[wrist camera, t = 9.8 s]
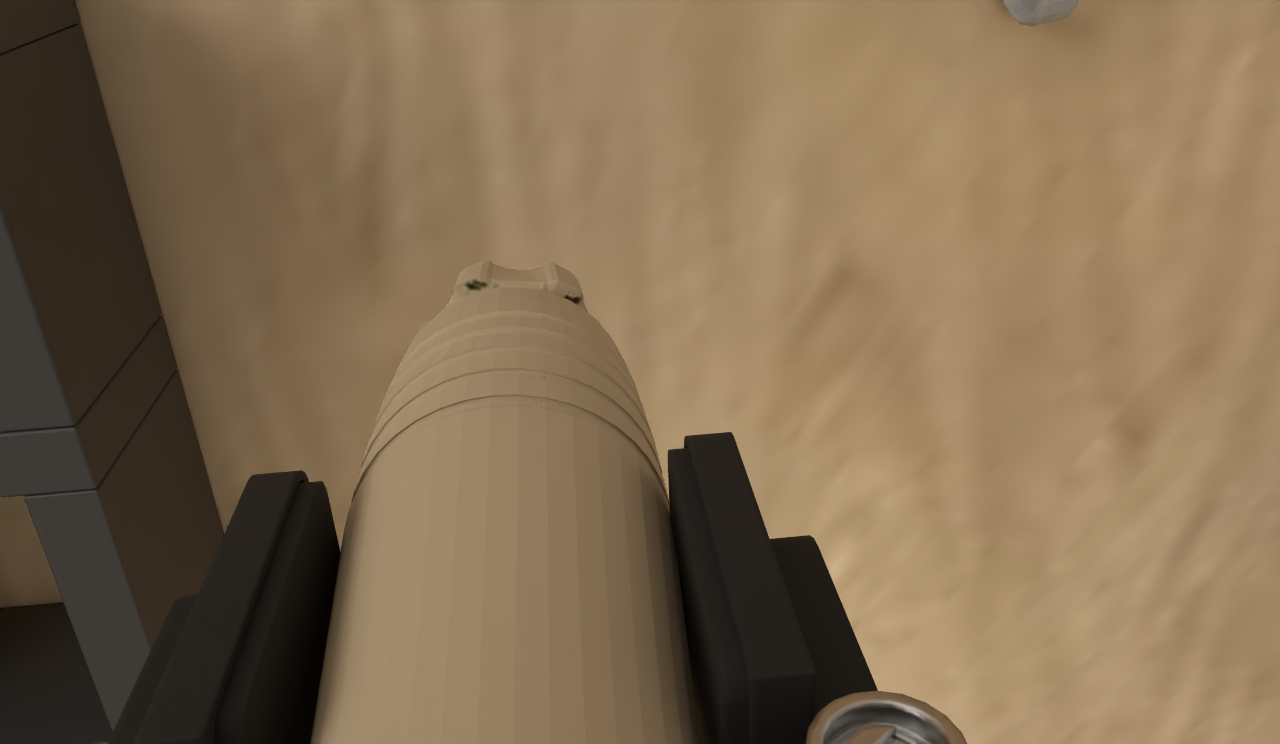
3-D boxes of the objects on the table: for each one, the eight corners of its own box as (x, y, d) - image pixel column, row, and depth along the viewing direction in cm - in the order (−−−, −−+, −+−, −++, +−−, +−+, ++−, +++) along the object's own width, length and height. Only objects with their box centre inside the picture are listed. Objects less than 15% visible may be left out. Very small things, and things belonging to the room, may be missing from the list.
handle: (677, 162, 16) (1327, 1517, 3) (639, 501, 19) (896, 1964, 6) (364, 142, 16) (-482, 1725, 3) (373, 495, 19) (-1, 2111, 5)
